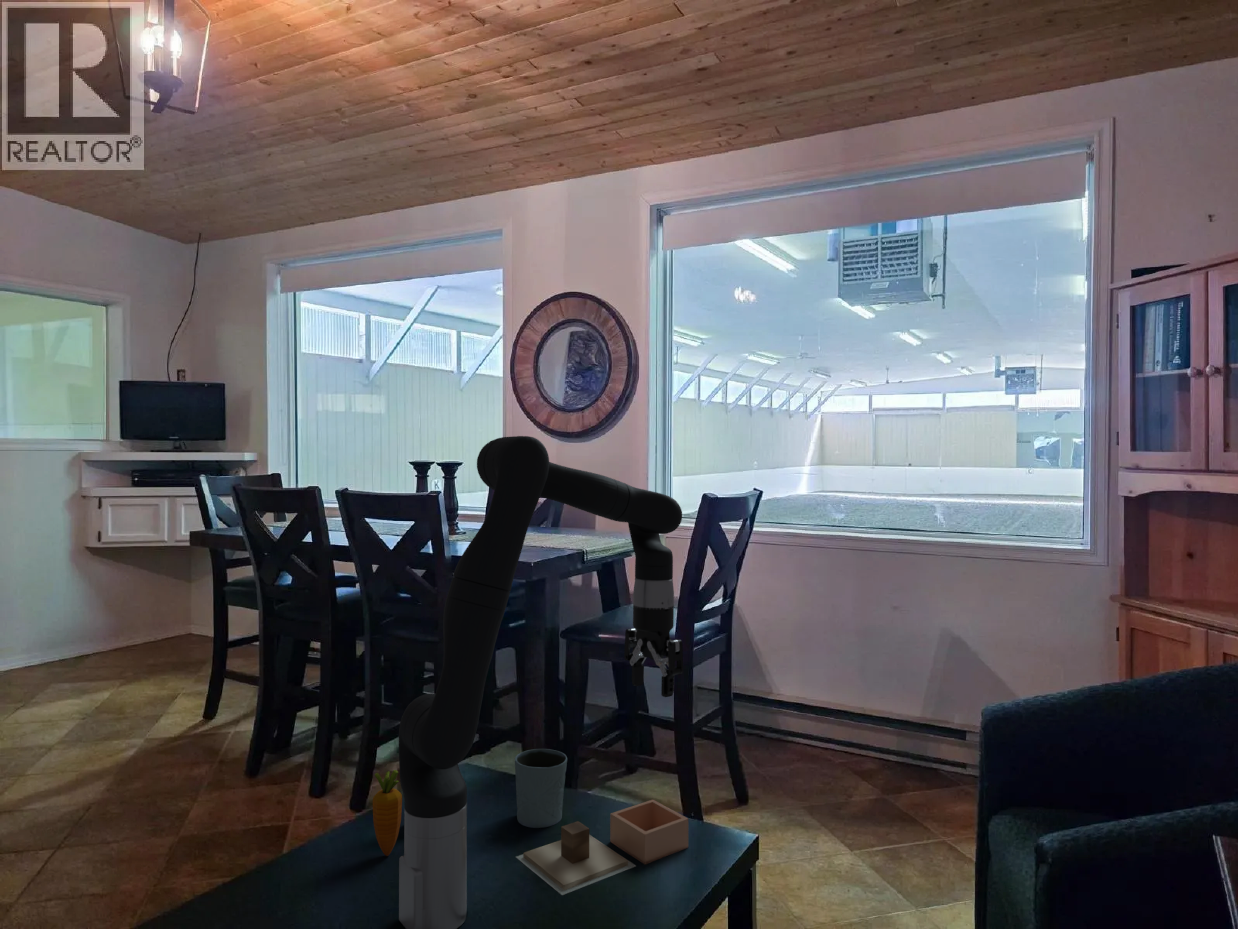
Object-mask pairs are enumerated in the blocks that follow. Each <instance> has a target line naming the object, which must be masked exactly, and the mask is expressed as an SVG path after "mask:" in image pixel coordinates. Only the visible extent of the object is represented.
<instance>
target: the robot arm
mask: <svg viewBox="0 0 1238 929" xmlns="http://www.w3.org/2000/svg"><path fill="white" fill-rule="evenodd" d="M476 469H477V473H478V476H479V477H480V480H482V482H483V484H485V485H486V486H487V487H488V488H490V489H491V490H493V495H492V499H491V503H490V506H489V509H488V512H487V514H486V517H485V519H484V521H483V523H482V525H481V526H480V528H479V529H478V532H476V534H475V536H474V537H473V538H472V540H471V541H470V542H469V544H468V546H467V547H466V548H465V550H464V552H463V553H462V555H461V556H460V558H459V560H458V562H457V563H456V564H457V565H456V566H455V569H454V572H453V575H452V578H451V581H450V584H449V588H448V591H447V596H446V599H445V601H444V602H445V603H444V609H443V618H442V619H443V620H442V621H443V622H442V623H443V624H442V625H443V626H442V627H443V629H442V630H443V632H442V633H443V661H442V668H441V669H442V670H441V672H440V673H441V674H440V679H439V681H438V685H437V687H436V691H435V693H425V694H422V695H420V696H418V697H416V698H414V699H413V700H412V701H411V702H410V703H409V704H408V705H407V707H406V708H405V709H404V712H403V714H402V716H401V719H400V722H399V729H398V762H399V765H398V766H399V783H400V788H401V790H402V791H401V792H402V794H403V795H402V796H403V800H404V806H403V807H404V819H403V820H404V823H403V824H404V831H403V832H404V834H403V835H404V839H403V840H404V841H403V842H404V843H403V844H404V846H403V847H404V848H403V850H404V851H403V852H404V853H403V855H401V856H400V857H399V859H398V864H399V865H398V874H399V876H398V921H399V922H400V923H401V924H402V926H403V927H404V928H405V929H458V928H459V927H461V926H462V925H463V923H464V922H465V921H466V919H467V914H468V913H467V905H468V899H467V896H468V894H467V893H468V890H467V884H468V883H467V881H468V879H467V876H468V874H467V872H468V870H467V864H468V863H467V862H468V861H467V860H468V859H467V858H468V851H467V849H468V842H467V841H468V840H467V839H468V838H467V837H468V832H467V831H468V825H467V824H468V820H467V819H468V787H467V783H466V781H465V778H464V777H463V774H462V772H461V769H460V766H459V764H460V763H461V762H462V761H463V760H464V759H465V757H467V755H468V753H469V752H470V750H471V749H472V746H473V745H474V742H475V738H476V736H477V731H478V730H477V729H478V726H479V721H480V720H479V719H480V715H481V708H482V702H483V698H484V691H485V686H486V680H487V677H488V672H489V668H490V665H491V661H492V658H493V655H494V650H495V646H496V642H497V639H498V636H499V631H500V628H501V624H502V621H503V620H504V615H505V612H506V608H507V607H508V606H507V604H508V601H509V598H510V595H511V591H512V587H513V582H514V578H515V573H516V571H517V568H518V565H519V564H518V563H519V560H520V557H521V553H522V551H523V547H524V543H525V540H526V536H527V532H528V529H529V526H530V524H531V521H532V519H533V515H534V513H535V510H536V508H537V505H538V503H539V500H540V498H543V499H547V500H551V501H554V502H557V503H561V504H563V505H566V506H569V507H572V508H575V509H577V510H581V511H584V512H587V513H589V514H593V515H596V516H598V517H602V518H605V519H607V520H610V521H614V522H618V523H627V525H628V529H629V535H630V539H631V540H630V541H631V543H632V544H631V545H632V548H633V552H634V555H635V556H634V558H635V560H634V562H635V563H634V585H633V591H632V592H633V594H632V595H633V598H632V600H633V602H632V604H633V605H632V607H633V608H632V627H633V628H628V629H627V628H626V629H625V632H624V633H625V634H624V635H625V636H624V651H623V652H624V653H623V655H624V656H623V658H624V660H625V661H628V662H629V664H630V666H631V682H632V684H631V685H632V686H634V687H640V686H643V685H644V678H645V676H644V674H645V673H644V670H645V667H644V666H645V665H644V663H645V661H646V659H647V658H649V659H651V660H653V661H654V663H655V665H656V666H658V667H659V669H660V672H661V674H662V675H661V687H660V688H661V693H660V694H661V697H663V698H668V697H672V696H673V695H674V692H675V676H676V675H680V674H683V672H684V651H683V650H684V649H683V646H684V645H683V643H684V642H683V640H682V639H672V638H671V635H670V632H671V631H672V630H673V629H674V622H675V621H674V618H675V616H674V615H675V614H674V611H675V610H674V608H675V607H674V606H675V605H674V603H675V591H674V579H673V576H674V556H673V551H672V550H671V548H669V547H667V546H665V545H663V543H662V541H661V536H660V535H666V534H670V533H672V532H674V531H676V530H677V529H678V528H679V526H680V525H681V523H682V520H683V511H682V508H681V505H680V504H679V503H678V501H676V500H675V499H674V497H671V496H670V495H667V494H663V493H662V492H661V493H660V492H655V491H654V490H653V491H651V490H648V489H644V488H638V487H635V486H632V485H629V484H628V483H625V482H622V481H620V480H617V479H614V478H612V477H609V476H605V475H602V474H600V473H599V474H598V473H595V472H591V471H587V470H581V469H576V468H574V467H573V468H572V467H568V466H564V465H560V464H557V463H554V462H551V461H550V457H549V453H548V450H547V448H546V447H545V445H544V444H543V443H542V441H540V440H539V439H538V438H536V437H534V436H528V435H517V436H515V435H514V436H503V437H498V438H495V439H491V441H490V440H489V442H487V443H486V444H484V445H483V446H482V448H481V450H480V451H479V453H478V455H477V458H476ZM631 649H632V650H631ZM666 665H667V666H666ZM667 667H668V668H667Z"/></svg>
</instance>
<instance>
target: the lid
mask: <svg viewBox="0 0 1238 929" xmlns="http://www.w3.org/2000/svg"><path fill="white" fill-rule="evenodd" d="M560 832H561V833H560V835H561V837H560V840H557V841H554V842H551V843H549V844H545V845H543V846H539V847H536V848H533V849H531V850H527V851H525V852H523V858H525V859H526V860H527V861H528V862H530V863H531V864H532V865H533V866H535V867H536V868H537V869H538V870H540V871H541V872H542V873H543V874H545V875H546V876H547V877H548V878H549V879H551V880H552V881H553V882H554V883H556V884H557V885H558V886H559V887H561V888H562V889H563V890H566V889H568V888H571V887H574V886H576V885H579V884H581V883H584V882H586V881H589V880H592V879H594V878H597V877H599V876H602V875H604V874H607V873H609V872H612V871H615V870H617V869H620V868H622V867H625V866H627V865H628V861H629V860H628V859H627V858H625V857H624V856H622V855H621V856H620V853H618V854H617V852H616V851H615V852H614V850H613V849H611V848H610V847H609V846H607V845H606V844H604V843H603V842H601V841H599V840H598V839H597V838H595V837H593V836H592V835H591V834H590V828H589V827H588V826H586V825H585V824H583V823H582V822H580V821H578V820H577V821H574V822H571V823H568V824H565V825H562V826H561V827H560ZM623 857H624V858H623ZM626 859H627V860H626Z"/></svg>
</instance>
